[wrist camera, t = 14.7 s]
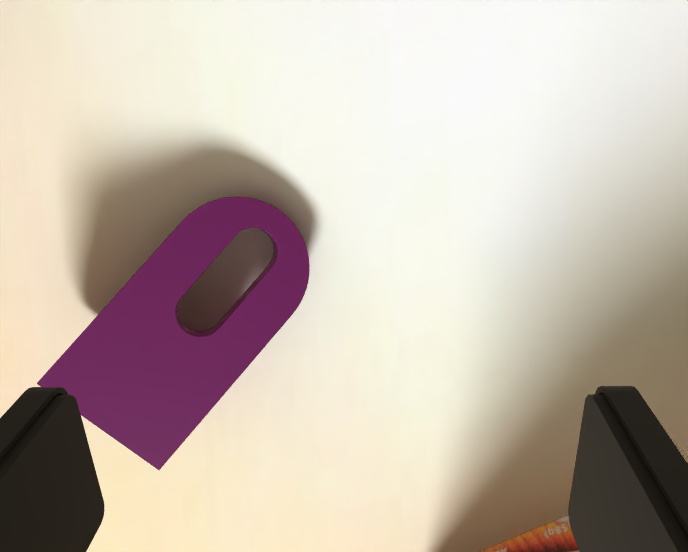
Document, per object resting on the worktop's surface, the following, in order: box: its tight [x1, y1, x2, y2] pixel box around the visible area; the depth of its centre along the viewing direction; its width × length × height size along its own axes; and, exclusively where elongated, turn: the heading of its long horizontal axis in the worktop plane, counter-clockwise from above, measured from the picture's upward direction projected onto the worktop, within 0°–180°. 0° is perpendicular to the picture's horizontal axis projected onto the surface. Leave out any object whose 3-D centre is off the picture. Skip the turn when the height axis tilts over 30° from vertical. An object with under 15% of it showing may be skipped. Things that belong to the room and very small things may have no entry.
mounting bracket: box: [37, 197, 309, 470], centre depth 43 cm, size 9×8×18 cm
